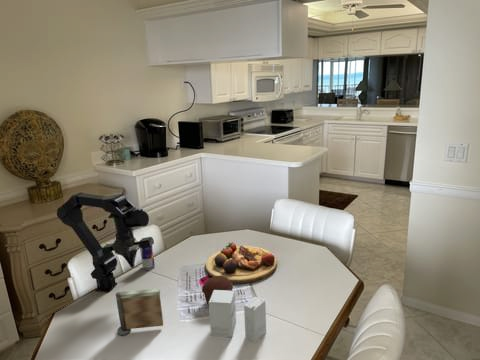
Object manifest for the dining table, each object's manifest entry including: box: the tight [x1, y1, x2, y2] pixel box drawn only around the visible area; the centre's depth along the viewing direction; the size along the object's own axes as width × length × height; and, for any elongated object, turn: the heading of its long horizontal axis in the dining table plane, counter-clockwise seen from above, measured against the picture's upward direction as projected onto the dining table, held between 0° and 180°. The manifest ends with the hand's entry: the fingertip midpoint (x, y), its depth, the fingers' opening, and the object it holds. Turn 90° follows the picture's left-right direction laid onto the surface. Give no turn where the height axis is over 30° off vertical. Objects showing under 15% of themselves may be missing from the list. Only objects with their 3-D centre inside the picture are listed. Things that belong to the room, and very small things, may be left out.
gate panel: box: [115, 288, 164, 330], centre depth 119 cm, size 14×2×13 cm, turn 95°
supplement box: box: [208, 290, 237, 338], centre depth 118 cm, size 7×7×13 cm
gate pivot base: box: [116, 326, 132, 337], centre depth 120 cm, size 4×4×1 cm
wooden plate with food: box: [204, 242, 278, 284], centre depth 159 cm, size 32×32×8 cm
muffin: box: [201, 276, 234, 308], centre depth 132 cm, size 12×11×10 cm
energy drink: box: [139, 245, 156, 271], centre depth 161 cm, size 5×5×12 cm
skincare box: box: [243, 296, 267, 343], centre depth 114 cm, size 6×4×12 cm
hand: (132, 267), depth 137 cm, fingers closed
